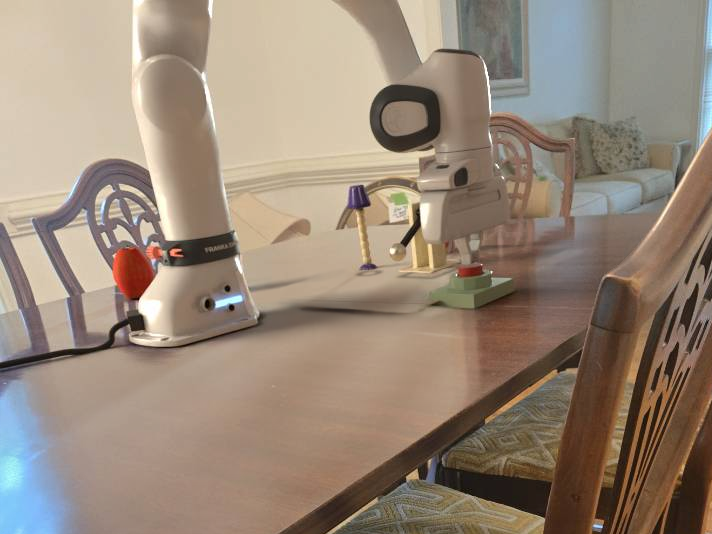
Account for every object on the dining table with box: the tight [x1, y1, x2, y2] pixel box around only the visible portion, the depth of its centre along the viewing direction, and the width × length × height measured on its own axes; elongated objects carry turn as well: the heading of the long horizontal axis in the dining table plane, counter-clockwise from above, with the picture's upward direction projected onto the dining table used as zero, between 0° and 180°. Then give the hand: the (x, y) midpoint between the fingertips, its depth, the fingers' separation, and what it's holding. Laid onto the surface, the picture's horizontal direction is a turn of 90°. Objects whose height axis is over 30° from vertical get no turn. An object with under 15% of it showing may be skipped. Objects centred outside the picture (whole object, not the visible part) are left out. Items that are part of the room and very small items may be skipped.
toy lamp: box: [347, 184, 378, 271], centre depth 155 cm, size 5×5×17 cm
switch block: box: [427, 269, 515, 310], centre depth 128 cm, size 12×9×4 cm
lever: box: [389, 207, 421, 262], centre depth 146 cm, size 14×3×3 cm, turn 142°
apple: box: [112, 245, 156, 300], centre depth 159 cm, size 8×8×11 cm
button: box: [457, 262, 484, 277], centre depth 126 cm, size 4×4×2 cm
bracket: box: [398, 201, 461, 274], centre depth 150 cm, size 10×8×13 cm
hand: (470, 263), depth 126 cm, fingers closed
